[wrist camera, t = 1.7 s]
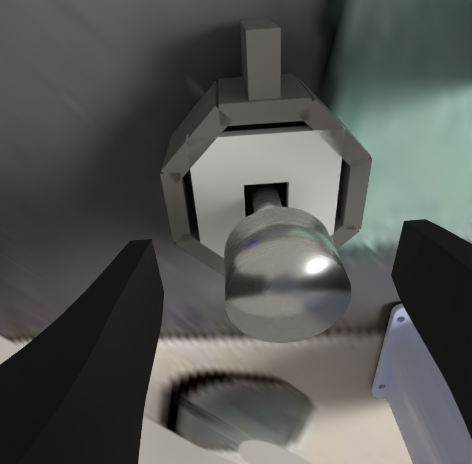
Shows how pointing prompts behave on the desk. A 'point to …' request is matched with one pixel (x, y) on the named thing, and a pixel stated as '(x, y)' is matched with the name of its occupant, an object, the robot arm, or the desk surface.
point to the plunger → (282, 273)
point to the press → (260, 154)
